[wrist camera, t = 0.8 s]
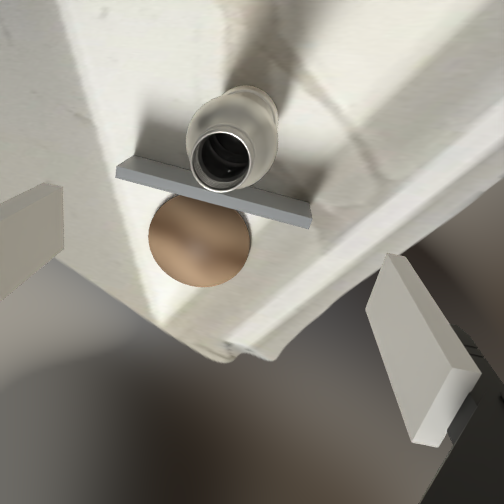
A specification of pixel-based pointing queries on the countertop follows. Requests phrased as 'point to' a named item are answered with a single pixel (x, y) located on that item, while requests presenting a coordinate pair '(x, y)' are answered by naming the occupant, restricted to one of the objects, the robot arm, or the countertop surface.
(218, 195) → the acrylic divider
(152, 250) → the walnut coaster
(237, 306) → the countertop surface
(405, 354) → the robot arm
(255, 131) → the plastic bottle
